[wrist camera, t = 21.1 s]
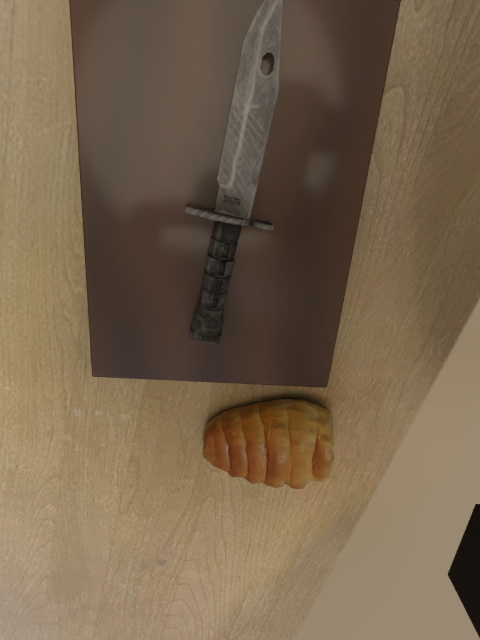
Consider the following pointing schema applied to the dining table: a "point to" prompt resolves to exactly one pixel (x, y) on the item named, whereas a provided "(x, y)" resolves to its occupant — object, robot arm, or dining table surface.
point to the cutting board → (202, 186)
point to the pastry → (272, 442)
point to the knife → (239, 167)
